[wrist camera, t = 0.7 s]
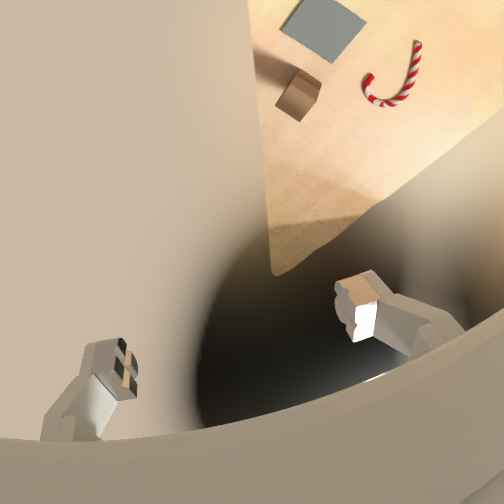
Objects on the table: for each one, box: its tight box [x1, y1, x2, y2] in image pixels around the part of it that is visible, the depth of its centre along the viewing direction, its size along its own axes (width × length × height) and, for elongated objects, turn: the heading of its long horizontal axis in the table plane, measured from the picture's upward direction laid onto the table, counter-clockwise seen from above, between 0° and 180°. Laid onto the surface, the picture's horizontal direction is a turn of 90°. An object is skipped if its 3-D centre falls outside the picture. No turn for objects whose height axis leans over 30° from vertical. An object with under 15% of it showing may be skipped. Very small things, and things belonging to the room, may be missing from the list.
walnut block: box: [275, 69, 322, 122], centre depth 44 cm, size 4×4×10 cm
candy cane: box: [363, 41, 422, 107], centre depth 40 cm, size 8×1×15 cm
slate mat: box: [282, 0, 367, 64], centre depth 38 cm, size 10×10×1 cm
